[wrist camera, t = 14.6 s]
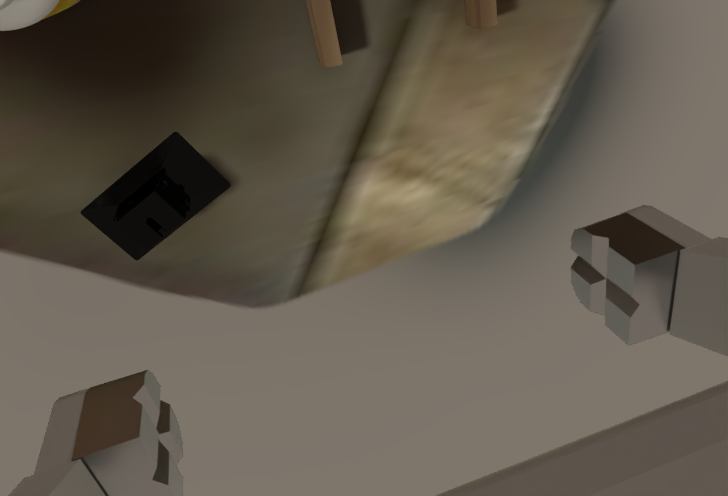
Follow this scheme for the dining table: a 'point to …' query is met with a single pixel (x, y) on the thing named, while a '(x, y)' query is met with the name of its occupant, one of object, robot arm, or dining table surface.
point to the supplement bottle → (29, 11)
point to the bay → (323, 27)
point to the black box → (156, 196)
